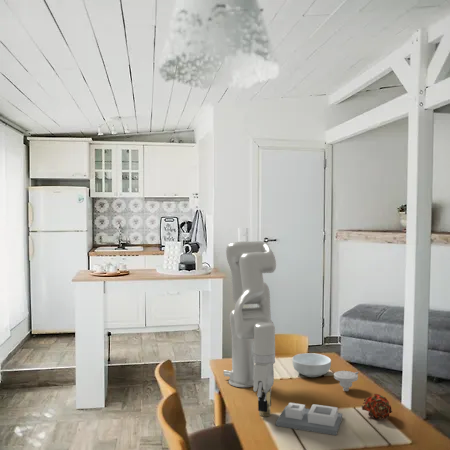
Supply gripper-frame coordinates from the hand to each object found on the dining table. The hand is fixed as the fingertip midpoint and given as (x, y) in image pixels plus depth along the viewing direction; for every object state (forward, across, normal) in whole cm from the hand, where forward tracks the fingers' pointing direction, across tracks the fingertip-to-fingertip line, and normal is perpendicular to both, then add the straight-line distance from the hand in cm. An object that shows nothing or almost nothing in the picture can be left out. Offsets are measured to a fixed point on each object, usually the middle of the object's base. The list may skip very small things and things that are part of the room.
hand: (264, 408), depth 170 cm
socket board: (+2, 0, +16) cm, 16 cm away
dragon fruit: (+2, -12, +37) cm, 39 cm away
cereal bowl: (+3, -48, +7) cm, 48 cm away
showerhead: (+3, -34, +24) cm, 42 cm away
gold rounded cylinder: (+2, 0, 0) cm, 2 cm away
